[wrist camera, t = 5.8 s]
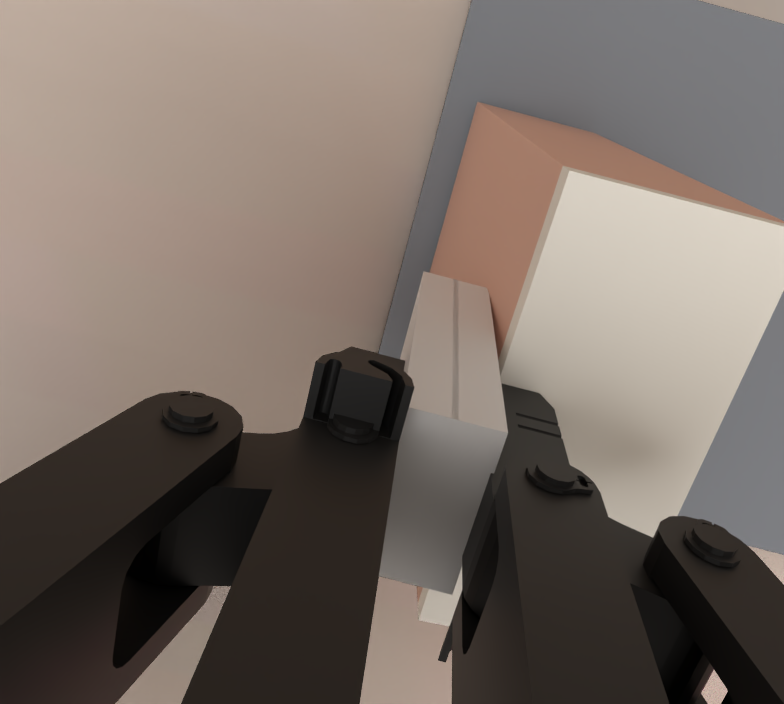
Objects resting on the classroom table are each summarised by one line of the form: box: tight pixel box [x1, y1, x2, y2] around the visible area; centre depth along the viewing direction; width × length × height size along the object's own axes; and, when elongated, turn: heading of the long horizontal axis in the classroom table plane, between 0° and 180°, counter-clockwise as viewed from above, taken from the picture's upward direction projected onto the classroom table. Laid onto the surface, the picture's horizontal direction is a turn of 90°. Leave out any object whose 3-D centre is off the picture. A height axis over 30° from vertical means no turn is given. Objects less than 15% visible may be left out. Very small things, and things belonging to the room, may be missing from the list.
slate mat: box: [378, 0, 784, 555], centre depth 27 cm, size 22×18×1 cm
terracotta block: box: [417, 102, 784, 626], centre depth 20 cm, size 4×9×14 cm, turn 166°
